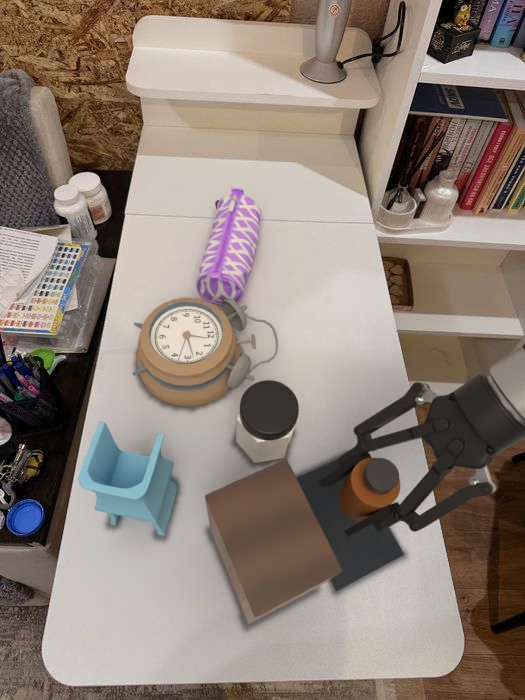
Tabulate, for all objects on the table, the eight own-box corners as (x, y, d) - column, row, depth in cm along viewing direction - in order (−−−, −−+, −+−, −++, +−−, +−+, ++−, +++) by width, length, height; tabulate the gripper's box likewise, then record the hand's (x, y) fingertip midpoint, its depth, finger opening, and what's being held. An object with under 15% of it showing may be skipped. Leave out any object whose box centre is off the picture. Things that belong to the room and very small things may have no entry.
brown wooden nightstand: (315, 588, 70) (343, 570, 52) (248, 624, 67) (255, 617, 50) (273, 501, 75) (286, 458, 58) (210, 530, 73) (204, 495, 55)
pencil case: (216, 217, 103) (215, 180, 94) (262, 223, 102) (264, 187, 94) (195, 307, 92) (192, 274, 83) (246, 314, 91) (248, 282, 83)
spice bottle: (390, 510, 64) (418, 487, 54) (352, 529, 62) (374, 509, 53) (367, 469, 66) (390, 441, 57) (330, 487, 65) (347, 461, 55)
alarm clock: (130, 289, 81) (273, 282, 84) (139, 320, 89) (269, 314, 92) (126, 385, 73) (286, 375, 75) (136, 410, 81) (280, 401, 83)
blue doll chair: (179, 481, 76) (165, 433, 59) (164, 536, 72) (144, 502, 55) (128, 470, 76) (98, 420, 59) (110, 524, 72) (73, 487, 55)
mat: (403, 555, 72) (404, 554, 72) (336, 591, 70) (336, 591, 69) (347, 455, 79) (347, 454, 79) (284, 484, 76) (284, 483, 76)
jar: (280, 472, 77) (288, 445, 67) (229, 454, 78) (230, 425, 68) (297, 420, 82) (307, 387, 71) (249, 404, 83) (252, 369, 72)
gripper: (576, 481, 50) (391, 575, 60) (464, 333, 58) (317, 438, 68) (567, 489, 44) (363, 593, 54) (443, 323, 52) (285, 440, 62)
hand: (338, 506), depth 61 cm, fingers closed on spice bottle, 6 cm apart
